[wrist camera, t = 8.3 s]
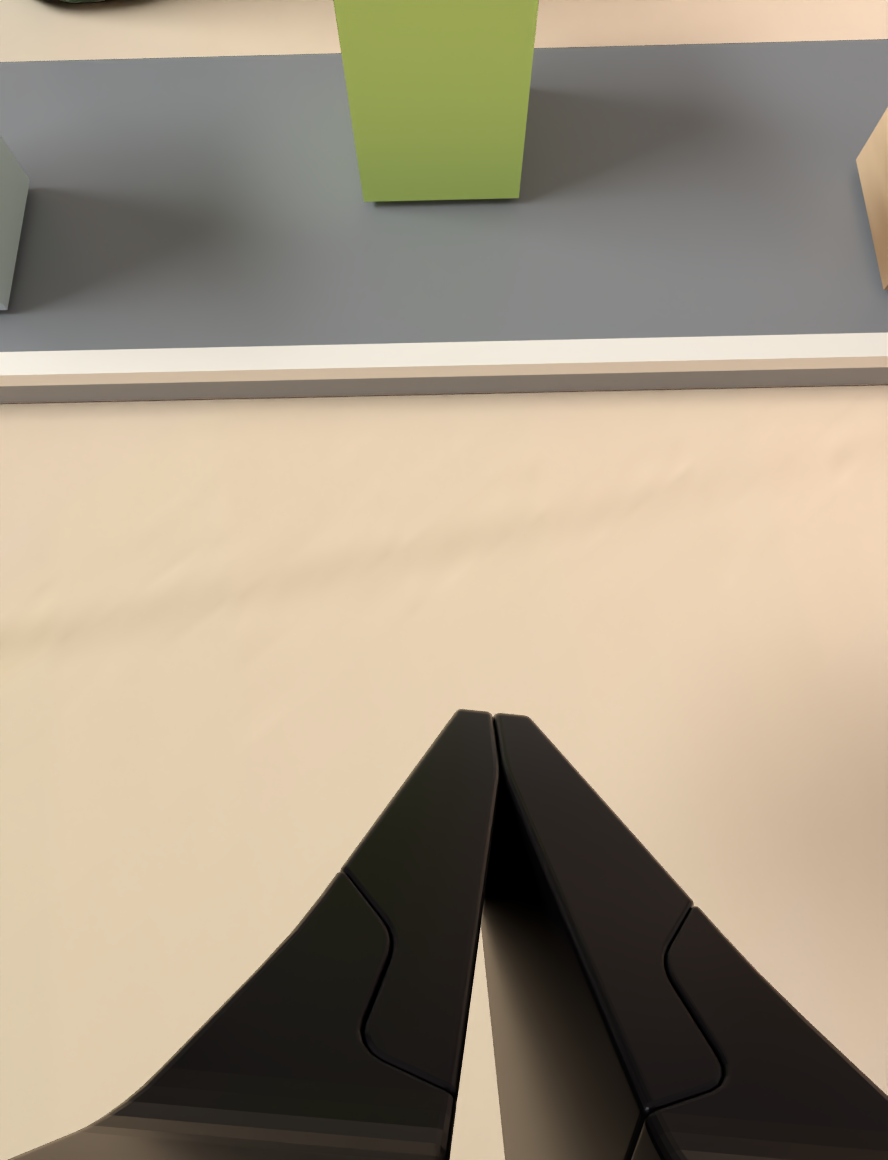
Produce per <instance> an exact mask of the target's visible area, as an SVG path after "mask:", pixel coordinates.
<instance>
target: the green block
mask: <svg viewBox="0 0 888 1160" xmlns="http://www.w3.org/2000/svg"><path fill="white" fill-rule="evenodd" d="M333 1H334V7H335V14H336V21H337V27H338V34H339V41H340V47H341V54H342V61H343V67H344V74H345V81H346V87H347V94H348V101H349V107H350V114H351V121H352V127H353V134H354V141H355V147H356V154H357V161H358V167H359V174H360V181H361V187H362V194H363V201H364V202H377V201H419V200H460V199H502V198H519V192H520V182H521V172H522V162H523V152H524V142H525V132H526V122H527V112H528V102H529V91H530V81H531V71H532V61H533V51H534V41H535V31H536V21H537V11H538V1H539V0H333Z"/></svg>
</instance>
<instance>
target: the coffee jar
mask: <svg viewBox="0 0 888 1160" xmlns="http://www.w3.org/2000/svg"><path fill="white" fill-rule="evenodd" d="M60 1H65V2H71V3H80V2H94V1H103V0H60Z"/></svg>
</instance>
